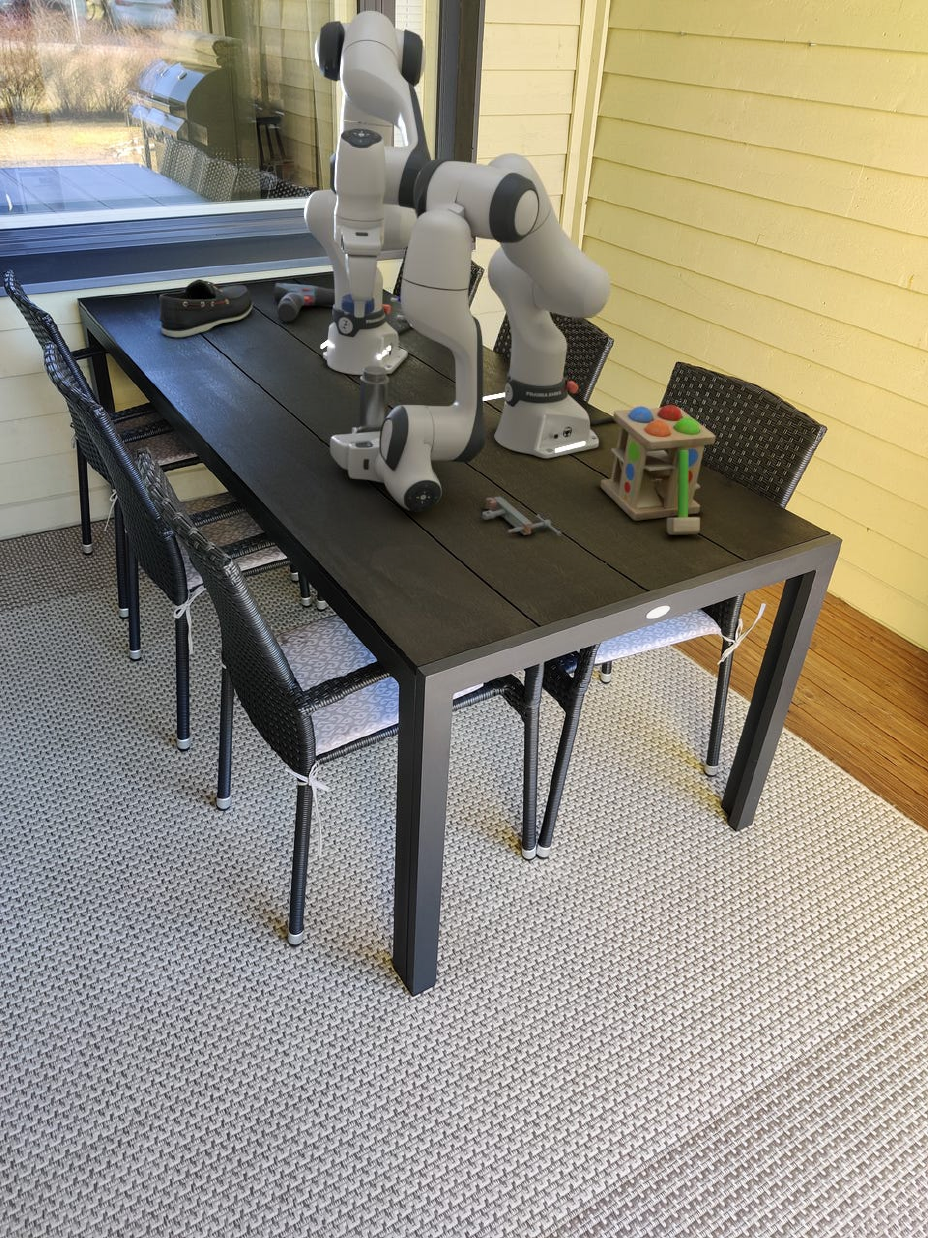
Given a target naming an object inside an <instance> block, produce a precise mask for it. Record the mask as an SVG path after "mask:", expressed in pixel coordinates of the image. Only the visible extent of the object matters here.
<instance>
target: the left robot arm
mask: <svg viewBox="0 0 928 1238" xmlns="http://www.w3.org/2000/svg"><path fill="white" fill-rule="evenodd" d="M314 54H315V61H316V64H317V66H318V71H319V72H320V74H321V75H322V77H323V78H326V79H328V80H330V81H333V82H337V83H338V81H339V82H340V86H341V90H342V92H343V95H342V103H341V112H340V130H339V137H338V142H337V147H336V150H335V152H333V154H331V156H330V158H329V189H322V190H321V189H320V190H314V192H312V193H311V194H310V195H309V197H308V198H307V200H306V202H305V205H304V211H303V218H304V222H305V223H304V224H305V226H306V228H307V230H308V231H309V233H310V234H311V235H312V236H313V237H314V238H315V239H316V240H317V241H318V242H319V243H320V245H321V246H322V248H323V250H324V251H325V252H326V254H327V256H328V259H329V261H330V264H331V267H332V271H333V280H334V281H333V282H334V290H335V304H334V305H332V313H331V314H332V323H331V324H330V325H329V326H328V336H327V340H326V341H325V342H323V343H322V344H320V349H324V348H325V347H327V348H326V351H324V352H323V353H322V358H323V359H324V360H326V362H327V363H326V365H327V366H328V367H329V368H330V369H332V370H334V371H336V372H339V373H341V374H342V373H343V374H347V375H356V376H362V375H363V374H364V368H365V367H368V366H379V367H383V368H385V369H386V370H387V375H389V374H392V373H393V372H394V371H395V370H396V369H397V368H398V367H399V366H400V365H401V364H402V363H403V361H405V360H406V359H407V357H408V356H409V354H408V353H409V351H407V350H405V349H403V348H401V347H399V345H400V344H399V343H400V342H399V341H400V340H399V339H400V337H399V334H401V333H403V332H405V331H407V330H409V329H410V328H412V327H411V325H410V324H408V325H407V326H405V327H403V328H401V329H399V330H396V329H394V328H393V327H392V326H391V325H390V324H389V323H388V322H387V319H386V314H387V315H388V314H391V308H392V306H391V305H390V304H385V303H383V292H384V290H383V288H384V277H383V274H382V272H381V270H380V268H379V267H378V257H379V256H381V255H382V250H384V251H387V250H402V249H406V248H408V244H409V240H410V237H411V233H412V230H413V227H414V224H415V222H416V220H417V214H416V211H415V207H414V199H413V190H414V184H415V181H416V178H417V176H418V174H419V172H420V171H421V169H422V168H423V167H424V166H425V164H426V163H428V162H429V161H431V160H432V156H431V153H430V150H429V145H428V141H427V136H426V132H425V125H424V121H423V116H422V111H421V105H420V102H419V98H418V97H419V96H418V94H417V91H416V89H415V88H416V86H417V85H419V84H420V80H421V79H422V77H423V75H424V72H425V69H426V63H427V55H426V50H425V47H424V41H423V39H422V38H421V36H420V34H418V33H417V32H414V31H412V30H408V29H404V30H403V29H399V28H396V27H395V26H394V24H393V23H392V21H391V20H390V19H389V17H387V15H385V14H383V13H381V12H380V11H376V10H364V11H362V12H359V13H358V14H356V15H355V16H354V17H353V18H352V19H351V21H350V22H341V21H340V20H335V21H328V22H326V23H325V24H323V25H322V26H321V27H320V31H319V32H318V34H317V37H316V41H315V47H314ZM393 126H394V127H397V129H398V130H399V131H400V133H401V138H402V143H403V146H392V135H393ZM348 294H351V297H352V299H353V300H354V314H353V313H349V312H346V311H344V310H343V309H342V297H343V296H345V295H348ZM372 298H374V303H375V308H374V311H373V312H371V313H368V314H364V308H365V303H366V301H370V300H371V299H372Z"/></svg>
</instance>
